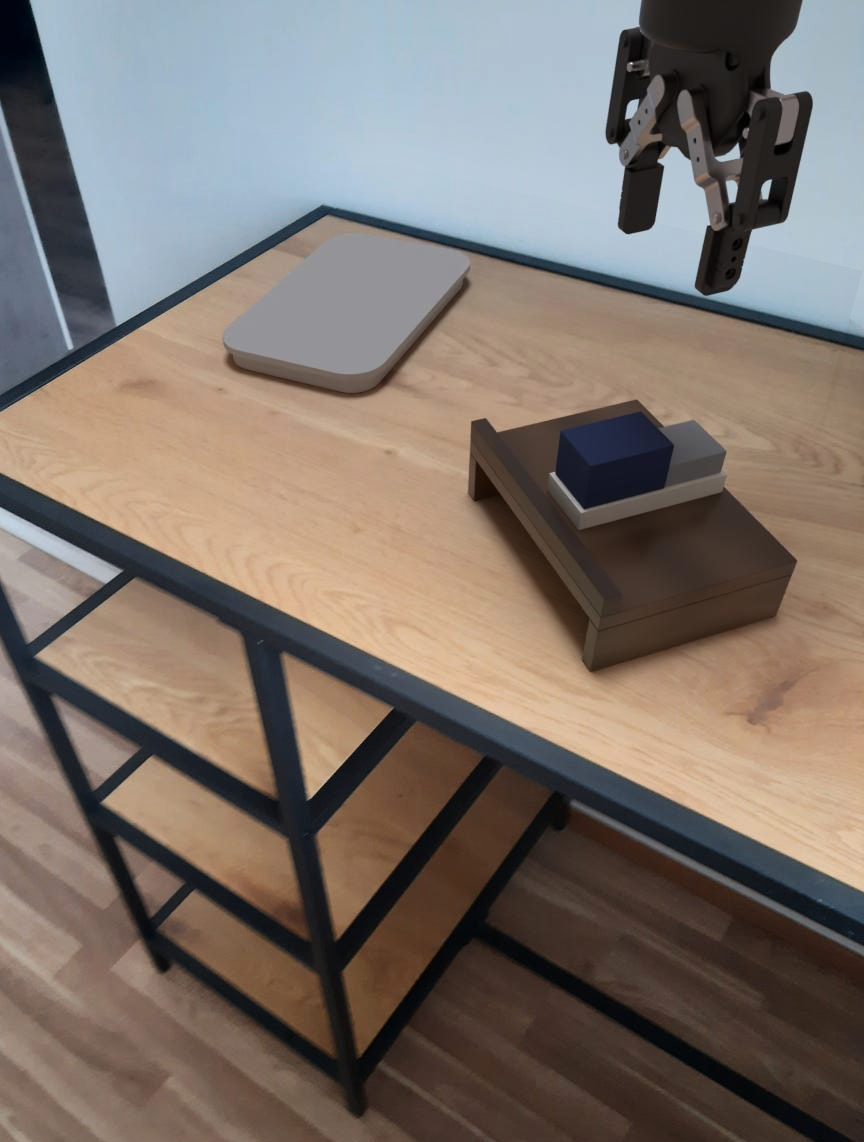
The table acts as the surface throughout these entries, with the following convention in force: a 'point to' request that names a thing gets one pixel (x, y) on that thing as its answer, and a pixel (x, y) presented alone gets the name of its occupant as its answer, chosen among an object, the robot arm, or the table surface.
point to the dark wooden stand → (635, 548)
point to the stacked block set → (633, 468)
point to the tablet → (347, 311)
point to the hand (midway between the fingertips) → (672, 258)
